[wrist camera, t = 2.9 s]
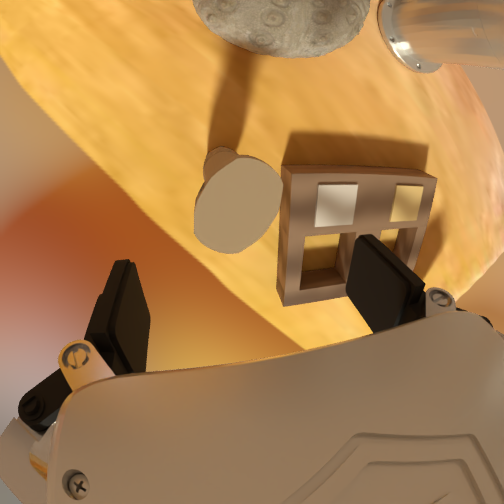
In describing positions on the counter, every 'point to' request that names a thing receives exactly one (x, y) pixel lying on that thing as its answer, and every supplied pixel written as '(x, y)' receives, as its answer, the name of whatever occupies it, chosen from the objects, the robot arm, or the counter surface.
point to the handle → (235, 201)
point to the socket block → (346, 220)
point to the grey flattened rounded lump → (285, 24)
